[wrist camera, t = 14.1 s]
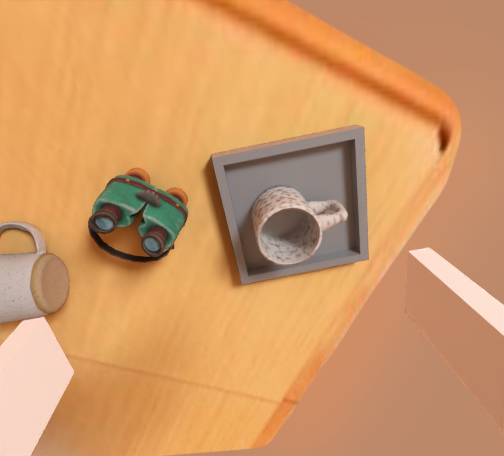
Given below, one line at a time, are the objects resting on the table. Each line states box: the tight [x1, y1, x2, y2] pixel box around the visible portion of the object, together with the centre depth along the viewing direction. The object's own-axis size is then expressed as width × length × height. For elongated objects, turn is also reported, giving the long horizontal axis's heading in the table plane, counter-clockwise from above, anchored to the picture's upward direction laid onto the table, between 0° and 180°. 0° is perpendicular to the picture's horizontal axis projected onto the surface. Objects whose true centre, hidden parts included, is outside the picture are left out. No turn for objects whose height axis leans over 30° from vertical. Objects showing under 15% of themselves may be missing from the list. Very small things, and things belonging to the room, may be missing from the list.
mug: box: [252, 185, 348, 266], centre depth 34 cm, size 10×7×7 cm, turn 104°
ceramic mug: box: [0, 222, 69, 324], centre depth 35 cm, size 11×8×8 cm
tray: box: [212, 125, 369, 284], centre depth 37 cm, size 16×16×2 cm
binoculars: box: [88, 168, 188, 263], centre depth 32 cm, size 9×11×10 cm
